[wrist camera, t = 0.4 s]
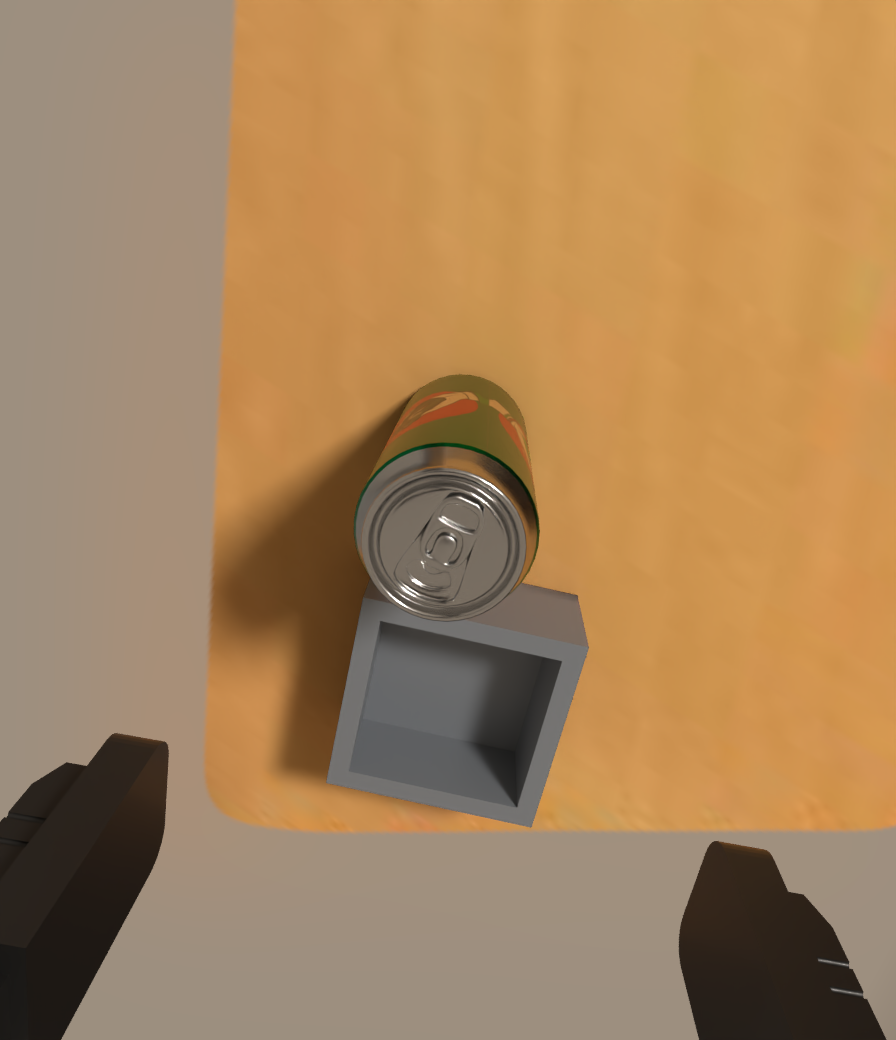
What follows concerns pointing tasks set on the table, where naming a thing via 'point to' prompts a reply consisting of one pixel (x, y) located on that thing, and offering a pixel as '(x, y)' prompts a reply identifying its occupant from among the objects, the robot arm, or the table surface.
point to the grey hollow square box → (460, 703)
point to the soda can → (451, 503)
